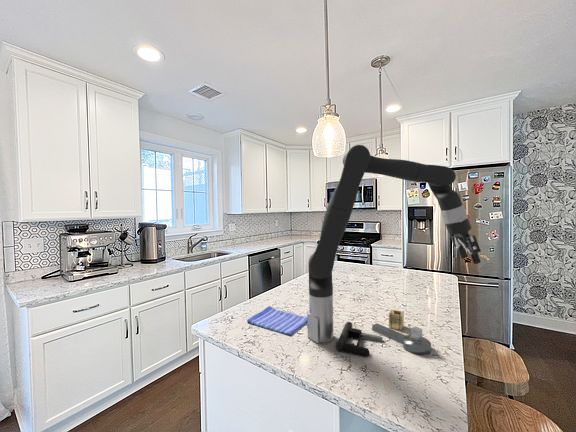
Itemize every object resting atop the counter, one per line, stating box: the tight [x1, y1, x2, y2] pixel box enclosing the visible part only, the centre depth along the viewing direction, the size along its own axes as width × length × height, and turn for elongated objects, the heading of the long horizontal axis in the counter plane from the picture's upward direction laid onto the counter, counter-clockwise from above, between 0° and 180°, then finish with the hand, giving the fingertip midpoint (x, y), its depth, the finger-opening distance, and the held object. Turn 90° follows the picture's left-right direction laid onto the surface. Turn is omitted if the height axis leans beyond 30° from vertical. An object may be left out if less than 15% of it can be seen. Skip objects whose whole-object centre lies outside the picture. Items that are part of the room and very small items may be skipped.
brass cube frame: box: [388, 309, 405, 331], centre depth 111 cm, size 5×5×6 cm
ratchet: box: [371, 323, 432, 356], centre depth 100 cm, size 9×22×7 cm, turn 34°
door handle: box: [335, 321, 383, 358], centre depth 100 cm, size 3×20×16 cm
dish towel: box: [246, 305, 307, 336], centre depth 119 cm, size 17×24×3 cm
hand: (470, 260), depth 98 cm, fingers open, 8 cm apart
